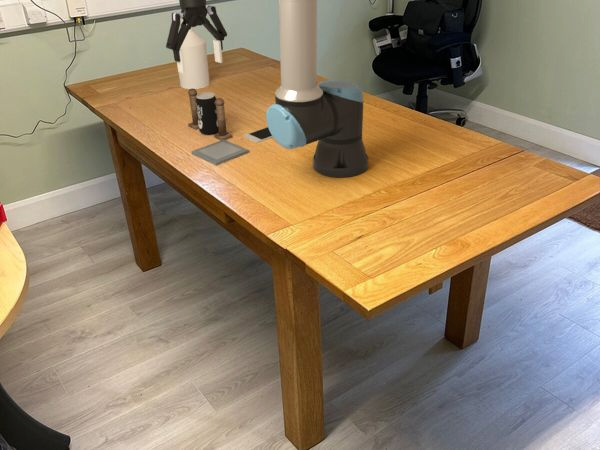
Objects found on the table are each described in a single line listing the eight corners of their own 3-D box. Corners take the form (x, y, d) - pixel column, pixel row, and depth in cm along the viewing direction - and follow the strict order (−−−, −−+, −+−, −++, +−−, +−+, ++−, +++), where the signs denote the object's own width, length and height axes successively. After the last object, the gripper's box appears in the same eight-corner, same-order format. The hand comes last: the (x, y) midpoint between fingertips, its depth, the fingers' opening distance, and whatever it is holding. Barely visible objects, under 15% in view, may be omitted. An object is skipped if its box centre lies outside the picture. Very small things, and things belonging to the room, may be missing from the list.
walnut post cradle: (232, 137, 182) (228, 97, 175) (222, 141, 179) (217, 101, 173) (198, 123, 193) (193, 85, 187) (188, 126, 191) (183, 88, 184)
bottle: (207, 88, 224) (199, 21, 212) (177, 89, 225) (167, 22, 212) (212, 79, 235) (204, 14, 222) (182, 80, 235) (173, 15, 222)
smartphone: (242, 137, 182) (242, 135, 182) (281, 124, 191) (281, 122, 190) (256, 144, 177) (256, 141, 177) (295, 130, 186) (295, 127, 185)
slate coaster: (249, 152, 171) (249, 149, 171) (216, 165, 164) (216, 162, 164) (224, 141, 179) (223, 139, 178) (191, 153, 172) (191, 151, 171)
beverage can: (216, 136, 183) (212, 99, 177) (196, 135, 184) (191, 98, 178) (223, 128, 188) (219, 92, 182) (203, 127, 190) (199, 91, 183)
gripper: (218, -16, 174) (225, 56, 185) (145, -4, 159) (158, 74, 170) (234, -14, 169) (241, 60, 180) (161, -1, 155) (172, 79, 166)
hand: (200, 67), depth 175 cm, fingers open, 13 cm apart
